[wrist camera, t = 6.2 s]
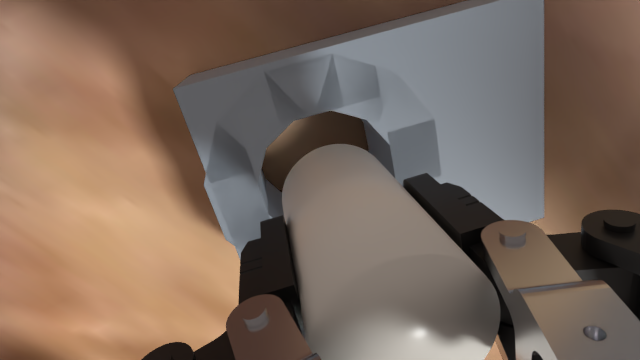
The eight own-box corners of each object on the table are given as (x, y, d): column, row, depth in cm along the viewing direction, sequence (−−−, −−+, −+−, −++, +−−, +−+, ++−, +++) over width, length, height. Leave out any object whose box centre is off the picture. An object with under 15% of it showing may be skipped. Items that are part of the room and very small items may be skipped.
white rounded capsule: (378, 130, 13) (495, 227, 7) (396, 226, 15) (504, 376, 9) (268, 162, 13) (284, 293, 7) (297, 256, 15) (334, 433, 8)
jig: (484, -5, 18) (543, -12, 14) (495, 185, 22) (544, 217, 18) (184, 76, 17) (165, 91, 13) (252, 257, 21) (253, 306, 17)
